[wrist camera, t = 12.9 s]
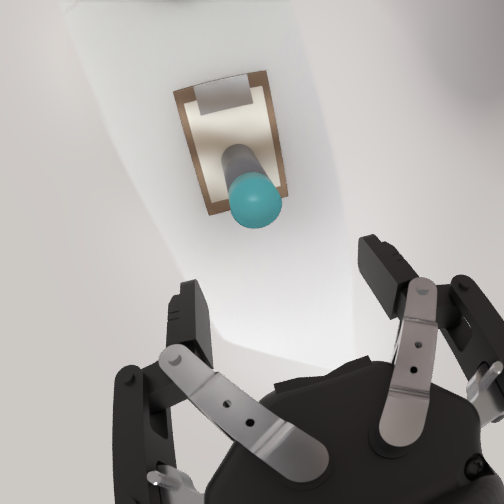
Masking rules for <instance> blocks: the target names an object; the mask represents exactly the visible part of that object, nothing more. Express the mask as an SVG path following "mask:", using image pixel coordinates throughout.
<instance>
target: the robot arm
mask: <svg viewBox="0 0 504 504" xmlns="http://www.w3.org/2000/svg"><path fill="white" fill-rule="evenodd" d="M358 243H359V244H358V267H359V270H360V273H361V275H362V276H363V278H364V279H365V281H366V282H367V284H368V285H369V287H370V288H371V290H372V291H373V293H374V295H375V296H376V298H377V299H378V301H379V303H380V304H381V305H382V307H383V309H384V311H385V312H386V314H387V315H388V317H389V318H390V320H391V319H394V318H396V317H398V318H399V320H400V322H399V326H398V331H397V336H396V341H395V345H394V350H393V354H392V358H391V361H390V363H388V362H384V361H371V360H370V358H369V356H368V355H367V356H365V357H362V358H359V359H356V360H353V361H350V362H347V363H345V364H344V365H342V366H340V367H339V368H337V369H335V370H334V371H332V372H330V373H329V374H327V375H325V376H317V377H300V378H295V379H291V380H287V381H283V382H280V383H275V384H274V388H275V390H274V391H273V392H271V393H269V394H267V395H266V396H265V397H263V398H262V399H261V400H260V401H259V402H257V401H256V400H254V399H253V398H252V397H250V396H249V395H248V394H247V393H245V392H244V391H243V390H241V389H240V388H239V387H238V386H236V385H235V384H234V383H232V382H231V381H230V380H229V379H227V378H226V377H225V376H224V375H222V374H221V373H219V372H214V371H213V370H212V369H214V368H213V357H212V347H211V333H210V320H209V310H208V306H207V303H206V300H205V298H204V295H203V293H202V291H201V288H200V286H199V284H198V281H197V280H196V279H194V280H190V281H186V282H182V283H181V286H180V294H179V295H174V296H173V297H172V299H171V301H170V303H169V305H168V322H167V337H166V348H165V349H164V350H163V351H162V352H161V354H160V356H159V359H158V361H156V362H155V363H153V364H152V365H149V366H147V367H145V368H143V369H140V368H139V367H138V366H135V365H128V366H125V367H124V368H122V369H121V370H120V371H119V372H118V373H117V375H116V377H115V384H114V400H113V401H114V402H113V433H112V435H113V436H112V450H113V479H114V480H113V481H114V496H115V504H504V485H503V483H502V480H501V478H500V477H499V476H498V475H497V473H495V471H494V470H493V469H492V468H491V467H490V466H489V464H488V463H487V462H486V460H485V459H484V457H483V454H482V450H481V443H480V432H481V431H480V429H481V428H482V427H484V426H485V425H487V424H488V423H490V422H493V423H496V422H499V421H500V420H502V419H503V418H504V321H503V319H502V318H501V316H500V315H499V314H498V312H497V311H496V309H495V308H494V307H493V305H492V304H491V303H490V301H489V300H488V298H487V297H486V296H485V294H484V293H483V292H482V291H481V289H480V288H479V287H478V285H477V284H476V283H475V282H474V281H473V280H472V279H471V278H470V277H468V276H466V275H456V276H455V277H453V278H452V281H451V284H446V285H435V283H434V282H433V281H431V280H430V279H427V278H423V277H419V276H418V275H417V273H416V272H415V271H414V270H413V269H412V267H411V266H410V265H409V264H408V262H407V261H406V260H405V259H404V258H403V257H402V255H401V254H399V252H398V251H397V249H396V248H395V247H394V246H392V245H391V244H389V243H387V242H381V241H380V240H379V239H378V238H377V237H376V236H375V235H374V234H371V235H368V236H364V237H361V238H359V242H358ZM465 319H466V320H467V321H466V320H465ZM467 322H468V323H469V324H468V323H467ZM469 325H470V326H469ZM438 329H440V331H441V332H442V334H443V336H444V337H445V339H446V341H447V343H448V344H449V346H450V348H451V350H452V352H453V353H454V355H455V357H456V359H457V361H458V363H459V365H460V366H461V368H462V370H463V372H464V374H465V376H466V378H467V380H468V384H467V387H466V392H467V399H465V398H463V397H461V396H459V395H456V394H454V393H452V392H450V391H448V390H446V389H443V388H442V387H439V386H438V385H435V384H433V383H431V379H432V372H433V366H434V359H435V351H436V341H437V332H438ZM186 399H188V400H189V401H190V402H191V403H192V404H193V405H194V406H195V407H196V408H198V410H199V411H200V412H201V413H202V414H204V415H205V416H206V417H207V418H208V419H209V420H210V421H211V422H212V423H213V424H214V425H216V427H217V428H218V429H219V430H220V431H222V432H223V433H224V434H225V435H226V436H227V437H228V438H230V439H231V440H232V441H233V442H234V443H233V444H232V446H231V448H230V449H229V451H228V453H227V454H226V456H225V458H224V459H223V461H222V463H221V464H220V466H219V467H218V469H217V471H216V472H215V474H214V475H213V477H212V479H211V480H210V482H209V483H208V485H207V487H206V490H205V493H204V494H201V493H199V492H198V491H197V490H196V489H195V487H194V485H193V482H192V480H191V478H190V477H189V476H188V475H187V474H186V473H184V472H182V471H180V470H177V467H176V459H175V450H174V441H173V432H172V421H171V410H170V407H171V406H173V405H175V404H177V403H179V402H181V401H184V400H186Z"/></svg>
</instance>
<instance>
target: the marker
mask: <svg viewBox="0 0 504 504" xmlns="http://www.w3.org/2000/svg"><path fill="white" fill-rule="evenodd" d="M221 162H222V167H223V172H224V177H225V182H226V186H227V191H228V199H229V204H230V208H231V213H232V216H233V217H234V219H235V220H236V221H237V222H238V223H239V224H240V225H242V226H244V227H247V228H262V227H265V226H267V225H269V224H270V223H272V222H273V221H274V220H275V219H276V218H277V216H278V215H279V213H280V211H281V207H282V200H281V196H280V194H279V192H278V191H277V189H276V187H275V186H274V184H273V182H272V181H271V180H270V179H269V177H268V175H267V174H266V172H265V171H264V169H263V167H262V166H261V164H260V162H259V161H258V159H257V158H256V156H255V154H254V153H253V151H252V150H251V149H250V148H249V147H248V146H246V145H243V144H234V145H231V146H230V147H228V148H227V149H226V150H225V151H224V153H223V155H222V158H221Z"/></svg>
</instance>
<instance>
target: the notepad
mask: <svg viewBox="0 0 504 504" xmlns="http://www.w3.org/2000/svg"><path fill="white" fill-rule="evenodd" d="M173 93H174V97H175V101H176V104H177V108H178V112H179V115H180V119H181V122H182V126H183V129H184V133H185V137H186V140H187V144H188V147H189V150H190V154H191V157H192V161H193V164H194V168H195V171H196V174H197V178H198V181H199V184H200V188H201V191H202V194H203V198H204V201H205V204H206V208H207V211H208V214H209V216H210V215H214V214H218V213H221V212H225V211H229V210H231V208H230V204H229V199H228V191H227V186H226V182H225V177H224V172H223V167H222V162H221V158H222V155H223V153H224V151H225V150H226V149H227V148H228V147H230V146H231V145H234V144H243V145H246V146H248V147H249V148H250V149H251V150H252V151H253V153H254V154H255V156H256V158H257V159H258V161H259V162H260V164H261V166H262V167H263V169H264V171H265V172H266V174H267V175H268V177H269V179H270V180H271V181H272V182H273V184H274V186H275V187H276V189H277V191H278V192H279V194H280V196H281V198H282V197H287V196H288V191H287V184H286V178H285V172H284V166H283V160H282V154H281V148H280V142H279V136H278V131H277V125H276V119H275V114H274V109H273V103H272V98H271V93H270V88H269V83H268V78H267V73H266V70H265V71H259V72H253V73H248V74H242V75H237V76H232V77H228V78H223V79H219V80H215V81H210V82H206V83H202V84H199V85H195V86H191V87H187V88H184V89H180V90H177V91H174V92H173Z"/></svg>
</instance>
